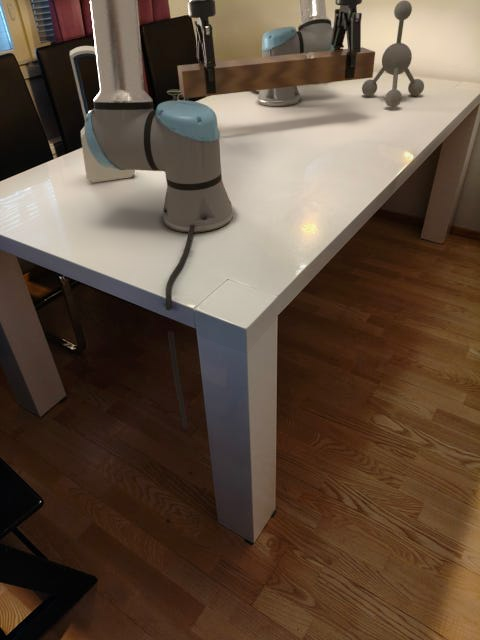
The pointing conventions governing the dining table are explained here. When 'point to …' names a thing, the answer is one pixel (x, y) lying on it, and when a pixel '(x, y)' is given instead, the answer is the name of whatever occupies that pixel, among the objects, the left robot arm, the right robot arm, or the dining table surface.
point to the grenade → (176, 95)
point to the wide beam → (274, 72)
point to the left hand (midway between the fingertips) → (208, 89)
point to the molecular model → (396, 63)
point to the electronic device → (92, 167)
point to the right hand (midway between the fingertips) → (343, 74)
